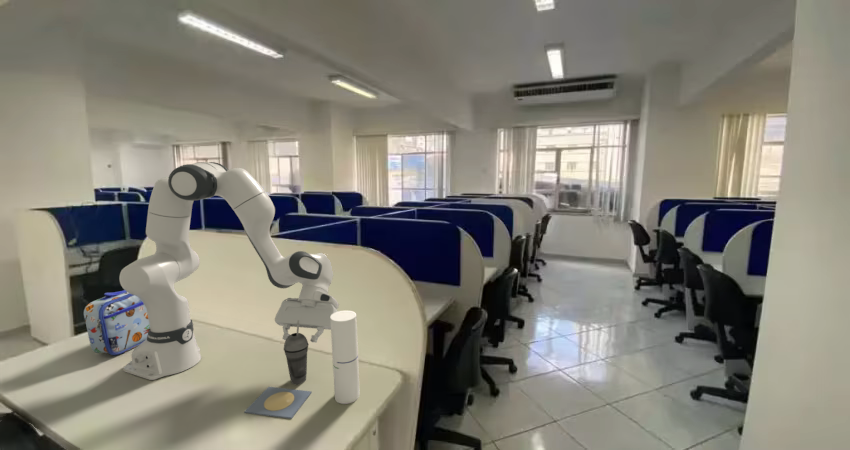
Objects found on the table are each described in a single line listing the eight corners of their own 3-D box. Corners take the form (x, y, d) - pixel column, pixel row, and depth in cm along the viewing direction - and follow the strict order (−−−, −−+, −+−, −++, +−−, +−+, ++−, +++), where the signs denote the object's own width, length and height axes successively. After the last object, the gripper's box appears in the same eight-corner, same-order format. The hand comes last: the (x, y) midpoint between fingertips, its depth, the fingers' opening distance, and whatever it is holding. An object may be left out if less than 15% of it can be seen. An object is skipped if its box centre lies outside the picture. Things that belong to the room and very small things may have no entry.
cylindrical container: (353, 405, 99) (350, 322, 94) (330, 402, 100) (325, 320, 96) (363, 389, 106) (360, 311, 101) (341, 386, 107) (337, 309, 103)
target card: (244, 412, 96) (244, 411, 96) (268, 387, 107) (268, 386, 107) (291, 418, 94) (291, 417, 94) (311, 392, 104) (311, 391, 104)
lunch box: (108, 364, 120) (97, 303, 116) (84, 360, 122) (72, 300, 118) (178, 327, 146) (171, 277, 143) (158, 325, 148) (150, 275, 145)
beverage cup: (290, 374, 114) (285, 316, 110) (313, 372, 114) (309, 315, 111) (283, 388, 107) (278, 326, 103) (307, 386, 107) (303, 325, 104)
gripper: (279, 293, 117) (264, 335, 109) (337, 297, 114) (325, 340, 106) (288, 301, 122) (273, 341, 114) (343, 304, 119) (332, 346, 111)
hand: (299, 340), depth 110 cm, fingers open, 8 cm apart
